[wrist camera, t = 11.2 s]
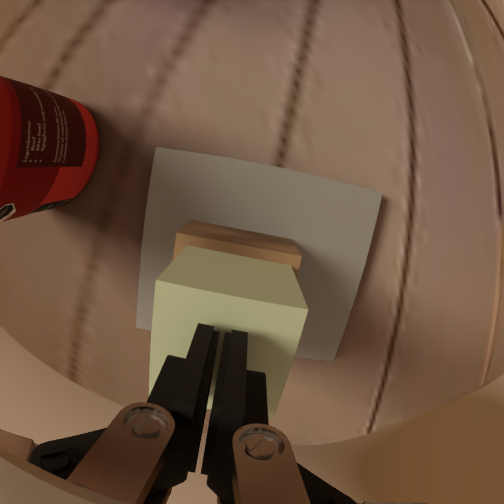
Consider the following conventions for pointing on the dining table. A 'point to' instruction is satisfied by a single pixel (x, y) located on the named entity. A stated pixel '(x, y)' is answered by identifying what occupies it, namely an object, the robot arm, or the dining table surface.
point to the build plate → (265, 230)
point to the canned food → (42, 149)
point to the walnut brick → (238, 243)
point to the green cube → (229, 312)
